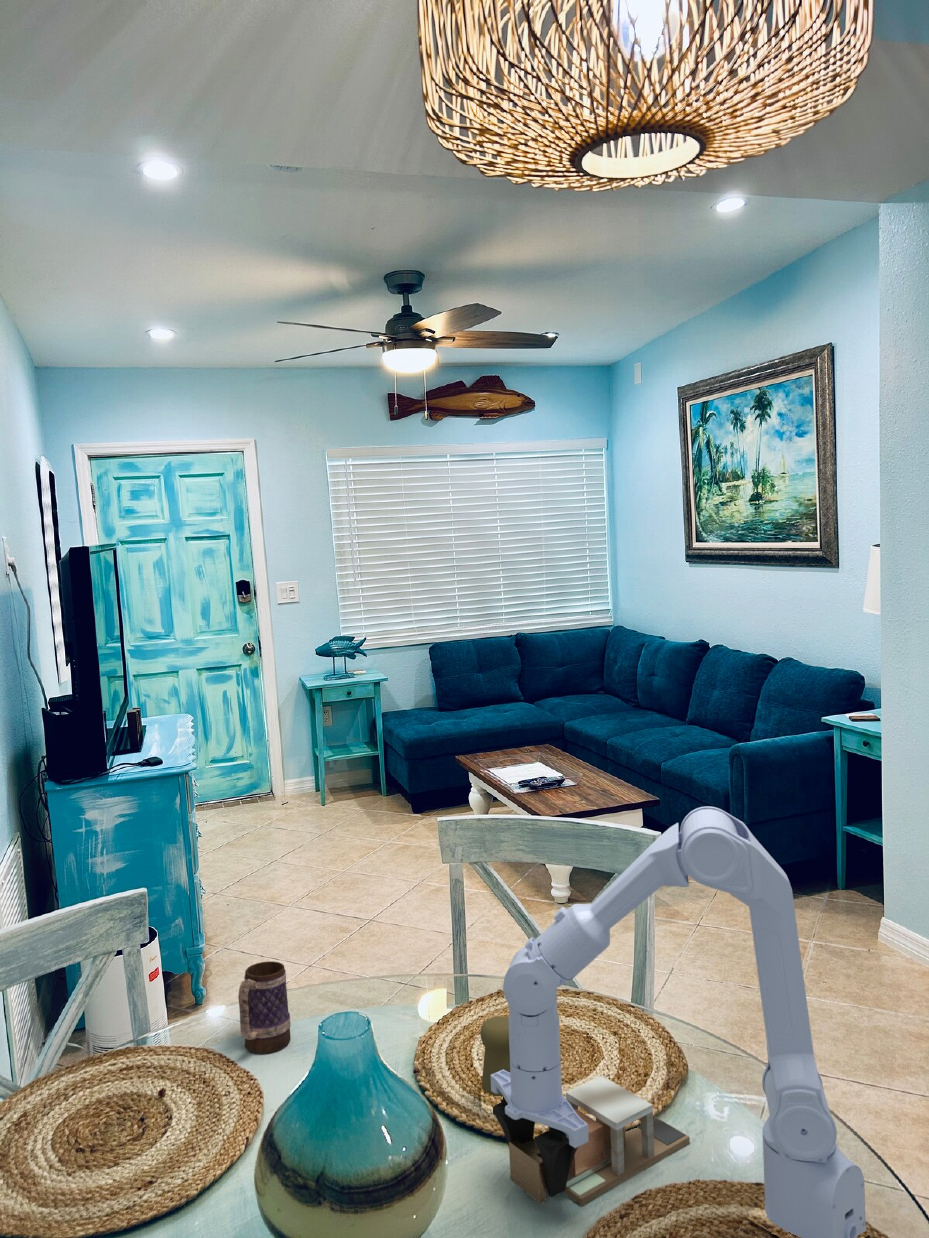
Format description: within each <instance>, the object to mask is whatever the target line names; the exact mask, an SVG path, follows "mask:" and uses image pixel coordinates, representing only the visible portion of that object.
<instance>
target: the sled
mask: <svg viewBox="0 0 929 1238" xmlns="http://www.w3.org/2000/svg"><path fill="white" fill-rule="evenodd" d="M575 1112H576V1113H577V1115H578V1116H579V1117H580V1118H581V1119H582V1120H583V1121H585V1122H586V1123H587V1124H588V1139H589V1141H588V1142H586V1143H584V1144H583V1145H581V1146H579V1147H578V1148H577V1150H576V1152H575V1155H574V1157H573V1160H572V1163H571V1166H570V1170H569V1174H568V1179H567V1184H566V1188H567V1187H569V1186H570V1185H572V1184H574V1183H576V1182H578V1181H579V1180H581V1179H583V1178H585V1177H587V1176H588V1175H590V1174H592V1173H594V1172H595V1171H597V1170H599V1169H601V1168H603V1167H604V1166H606V1165H608V1164H610V1163H612V1156H611V1128H610V1126H609V1125H607V1124H606V1123H604V1122H602V1121H601V1120H599V1119H598V1118H596V1117H595V1119H593V1118H591V1117H589V1116H588V1115H586V1114H585V1113H583V1112H582V1111H580V1110H579V1109H578V1110H577V1109H575ZM547 1131H549V1126H547ZM623 1143H624V1146H625V1126H624V1127H623ZM508 1150H509V1151H508V1152H509V1175H510V1177H509V1179H510V1180H509V1181H511V1182H512V1183H514V1184H515V1186H516V1185H517V1187H519V1188H520V1189H521V1190H522V1191H524V1192H525V1193H526V1194H527V1195H528V1196H530V1197H532V1198H533V1199H534V1200H535V1201H536V1202H537V1203H539V1204H543V1203H544V1202H546V1201H547V1195H546V1194H547V1189H546V1184H545V1174H544V1166H543V1161H542V1158H541V1154H540V1151H539V1149H538V1147H537V1144H536V1143H535V1141H534V1139H532V1140H530V1141H528V1142H526V1143H524V1144H521V1143H520V1142H518V1141H517V1140H515V1139H513V1140H511V1141H509V1146H508Z"/></svg>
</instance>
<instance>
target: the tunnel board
mask: <svg viewBox="0 0 929 1238" xmlns="http://www.w3.org/2000/svg"><path fill="white" fill-rule="evenodd" d="M565 1098H566V1100H567V1101H568V1102H569V1104H570V1105H571V1106H572V1108H573V1109H574V1110H575V1109H577V1110H579V1108H580V1109H581V1110H583V1111H585V1112H586V1113H587V1114H590V1115H592V1116H593V1117H595V1119H596V1118H598V1119H599V1120H601V1121H602V1122H604V1123H606V1124H607V1125H609V1126H610V1128H611V1156H612V1163H610V1164H608V1165H606V1166H604V1167H603V1168H601V1169H599V1170H597V1171H595V1172H594V1173H592V1174H590V1175H588V1176H587V1177H585V1178H583V1179H581V1180H579V1181H578V1182H576V1183H574V1184H572V1185H570V1186H569V1187H567V1188H566V1189H565V1191H563V1192H562V1193H563V1194H565V1195H566V1196H567V1197H569V1198H570V1199H571V1200H572V1201H574V1202H575V1203H576V1204H578V1205H579V1206H581V1207H583V1206H585V1205H586V1204H588V1203H590V1202H592V1201H594V1200H595V1199H596V1198H599V1197H600V1196H602V1195H604V1194H605V1193H608V1191H611V1190H612V1189H614V1188H616V1187H617V1186H619V1185H621V1184H623V1183H624V1182H626V1181H628V1180H629V1179H631V1178H633V1177H635V1176H636V1175H638V1174H640V1173H641V1172H643V1171H644V1170H647V1169H649V1168H650V1167H651V1166H654V1165H655V1164H658V1163H659V1162H660V1161H662V1160H664V1159H666V1158H667V1157H669V1156H670V1155H672V1154H674V1153H675V1152H677V1151H679V1150H681V1149H682V1148H684V1147H686V1146H688V1145H690V1144H691V1140H690V1139H691V1137H690V1136H689V1135H688V1134H685V1133H684V1132H683V1131H680V1130H679V1129H677V1128H676V1127H673V1126H672V1125H671V1124H668V1123H666V1122H665V1121H663V1120H662V1119H660V1118H659V1117H656V1116H655V1118H654V1119H653V1116H654V1109H653V1108H654V1107H653V1105H654V1104H652V1103H651V1102H649V1101H647V1100H646V1099H644V1098H643V1097H640V1096H638V1095H636V1094H635V1093H633V1092H631V1091H629V1090H627V1089H626V1088H624V1087H622V1086H621V1085H619V1084H617V1083H616V1082H614V1081H612V1080H610V1079H609V1078H607V1077H605V1076H603V1075H599V1076H597V1077H595V1078H593V1079H591V1080H588V1081H586V1082H584V1083H583V1084H580V1085H578V1086H576V1087H574V1088H572V1089H570V1090H568V1091H565ZM639 1118H641V1125H640V1126H637V1128H634V1129H631V1130H629V1131H626V1132H625V1146H624V1143H623V1127H624V1126H626V1125H628V1124H630V1123H632V1122H634V1121H636V1120H638V1119H639Z"/></svg>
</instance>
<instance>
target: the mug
mask: <svg viewBox="0 0 929 1238" xmlns="http://www.w3.org/2000/svg"><path fill="white" fill-rule="evenodd" d="M287 988H288V987H287V972H286V969H285V965H284V963H282V962H279V961H270V960H269V961H260V962H258V963H255V964H252V965H250V966H248V967H247V968H246V969H245V972H244V978H243V981H241V983H240V985H239V989H238V995H237V997H238V999H237V1000H238V1006H239V1023H240V1024H239V1025H240V1035H241V1038H242V1039H244V1047H245V1048H246V1050H248V1051H249V1052H251V1053H253V1054H259V1055H264V1054H265V1055H266V1054H271V1053H275V1052H279V1051H281V1050H283V1049H284V1048H285V1047H286V1046H288V1044H290V1042H291V1037H292V1036H291V1023H292V1022H291V1014H290V1012H289V1001H288V990H287Z"/></svg>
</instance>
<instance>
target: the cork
mask: <svg viewBox="0 0 929 1238" xmlns="http://www.w3.org/2000/svg"><path fill="white" fill-rule="evenodd" d="M508 1020H509V1017H507V1016H503V1015H499V1016H493V1017H489V1018H488V1019H486V1020H485V1021H483V1023H482V1025H481V1028H480V1032H479V1033H480V1034H479V1035H480V1039H481V1043H482V1045H483V1046H484V1055H483V1056H484V1057H483V1065H482V1066H483V1067H482V1077H481V1086H482V1089H483V1090H484V1091H485V1092H487V1093H489V1094H490V1095H493V1096H501V1097H502V1096H503V1095H502V1093H501V1092H500V1093H499V1094H495V1093H494V1092H492V1091H491V1075H492V1074H494V1073H496V1072H499V1071H501V1070H505V1071H507V1072H509V1073H510V1049H509V1022H508Z"/></svg>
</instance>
